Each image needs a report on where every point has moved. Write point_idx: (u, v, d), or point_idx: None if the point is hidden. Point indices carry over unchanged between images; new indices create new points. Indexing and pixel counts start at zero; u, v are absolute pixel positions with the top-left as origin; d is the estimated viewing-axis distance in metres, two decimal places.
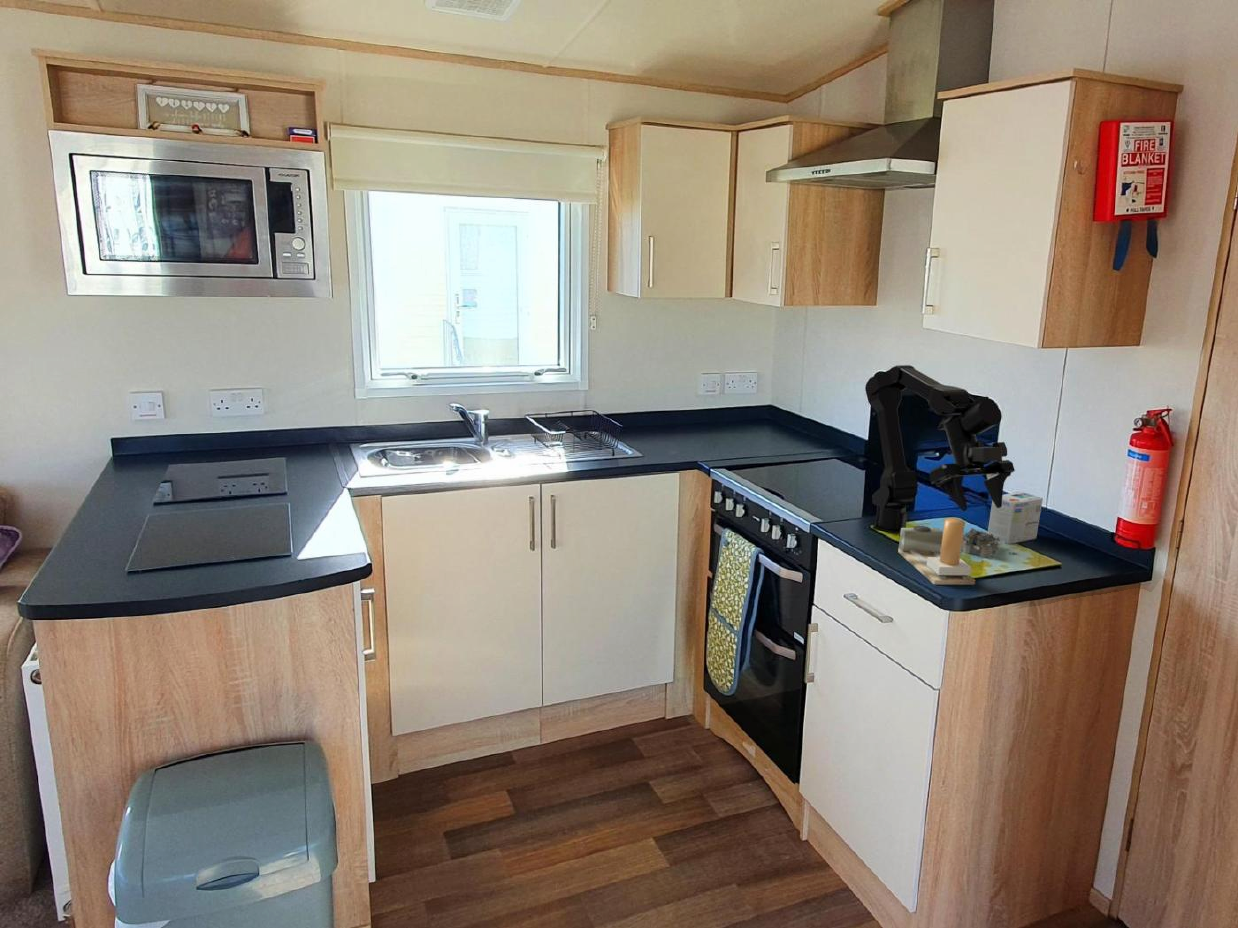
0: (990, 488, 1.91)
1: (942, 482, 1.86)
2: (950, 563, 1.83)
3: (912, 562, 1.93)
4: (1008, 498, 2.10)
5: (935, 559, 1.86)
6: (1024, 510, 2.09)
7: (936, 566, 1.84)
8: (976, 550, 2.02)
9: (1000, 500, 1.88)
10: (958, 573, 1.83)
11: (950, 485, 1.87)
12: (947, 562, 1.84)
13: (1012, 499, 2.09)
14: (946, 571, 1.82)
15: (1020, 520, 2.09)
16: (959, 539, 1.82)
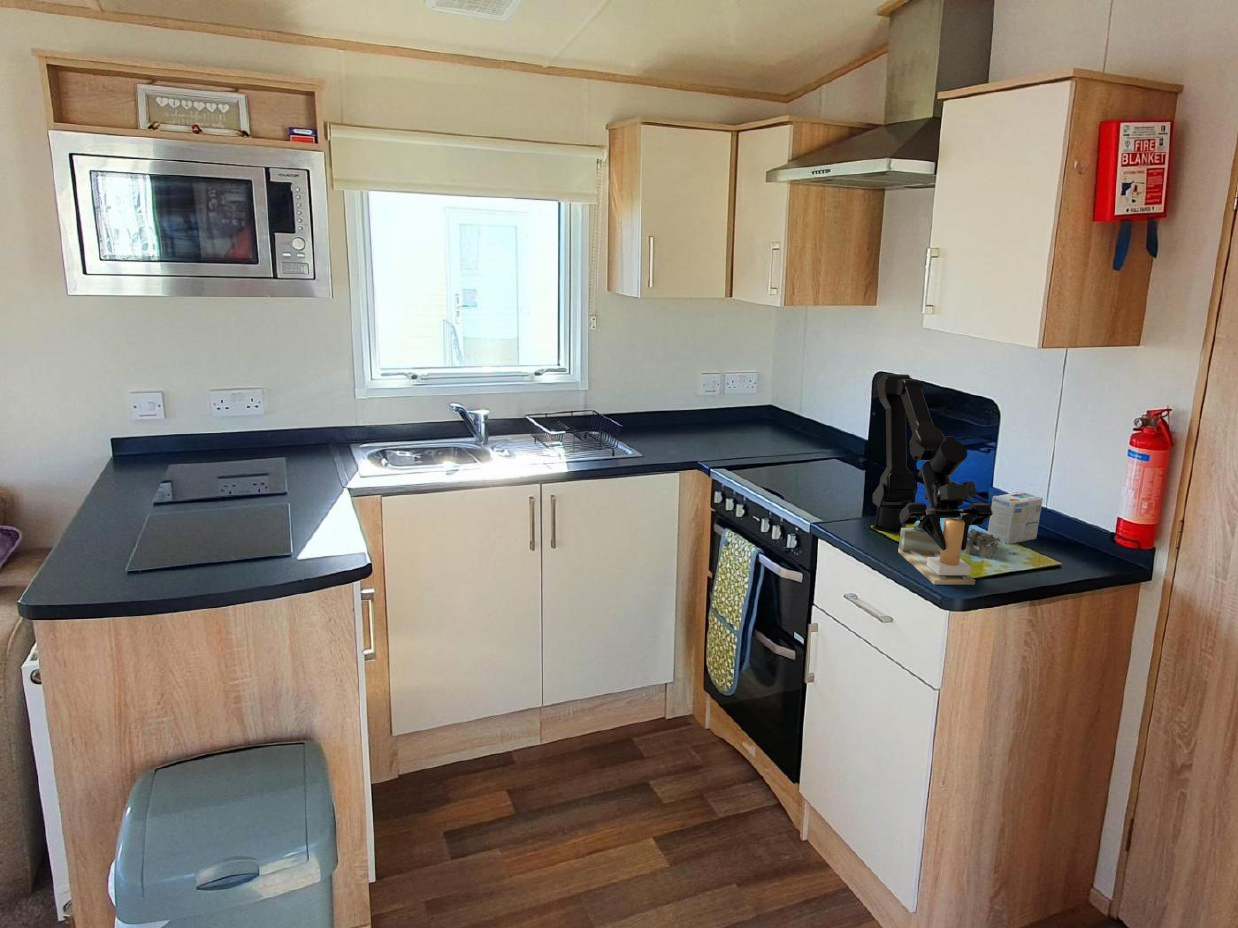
0: None
1: (921, 522, 1.86)
2: (950, 563, 1.83)
3: (912, 562, 1.93)
4: (1008, 498, 2.10)
5: (935, 559, 1.86)
6: (1024, 510, 2.09)
7: (936, 566, 1.84)
8: (976, 551, 2.01)
9: (964, 542, 1.83)
10: (958, 573, 1.83)
11: (930, 525, 1.87)
12: (947, 562, 1.84)
13: (1012, 499, 2.09)
14: (946, 571, 1.82)
15: (1020, 520, 2.09)
16: (959, 539, 1.82)
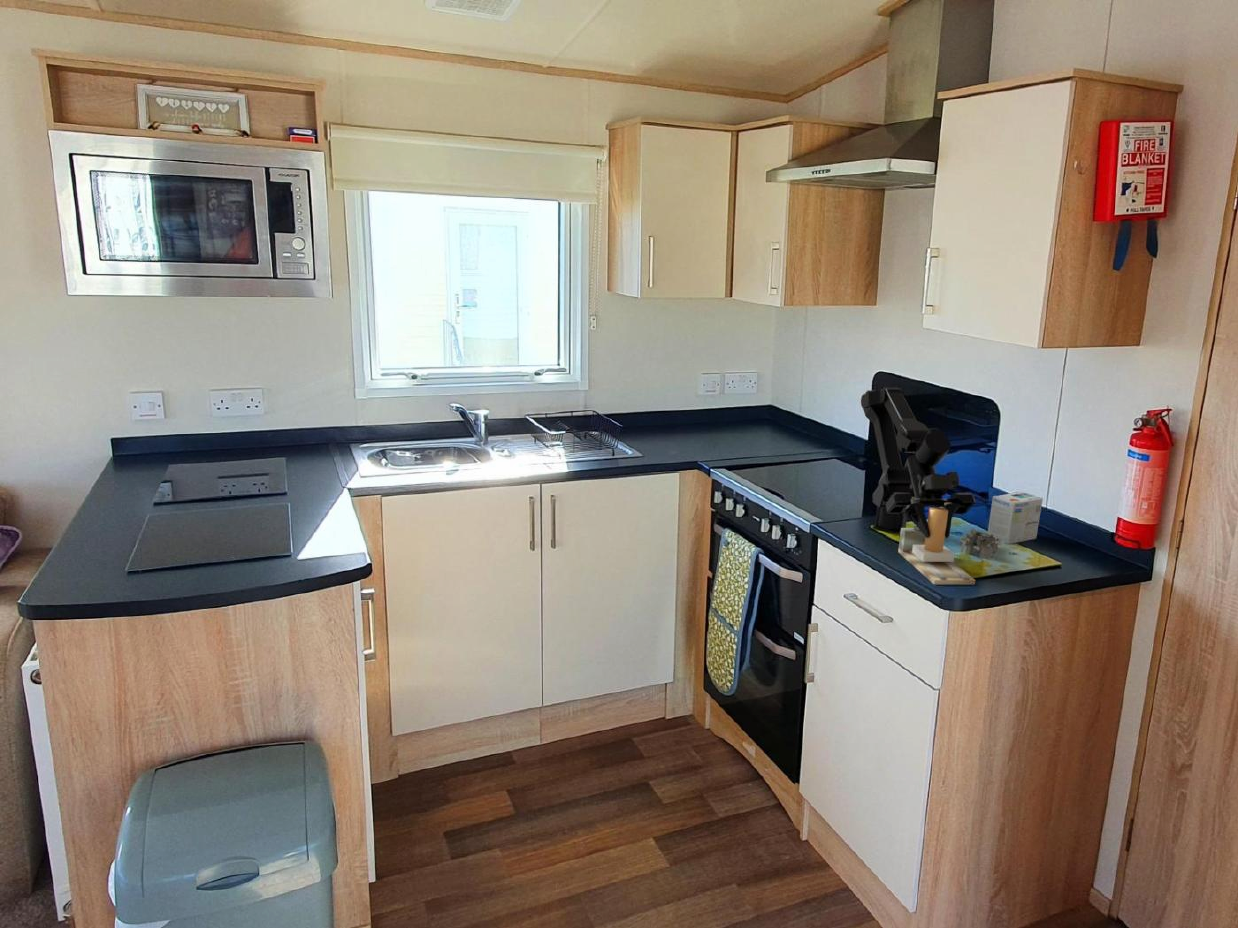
0: None
1: (906, 510, 1.94)
2: (934, 550, 1.91)
3: (912, 562, 1.93)
4: (1008, 498, 2.10)
5: (920, 547, 1.94)
6: (1024, 510, 2.09)
7: (921, 553, 1.91)
8: (976, 551, 2.01)
9: (948, 530, 1.91)
10: (942, 560, 1.90)
11: (916, 514, 1.94)
12: (931, 549, 1.91)
13: (1012, 499, 2.09)
14: (930, 557, 1.90)
15: (1020, 520, 2.09)
16: (942, 527, 1.90)
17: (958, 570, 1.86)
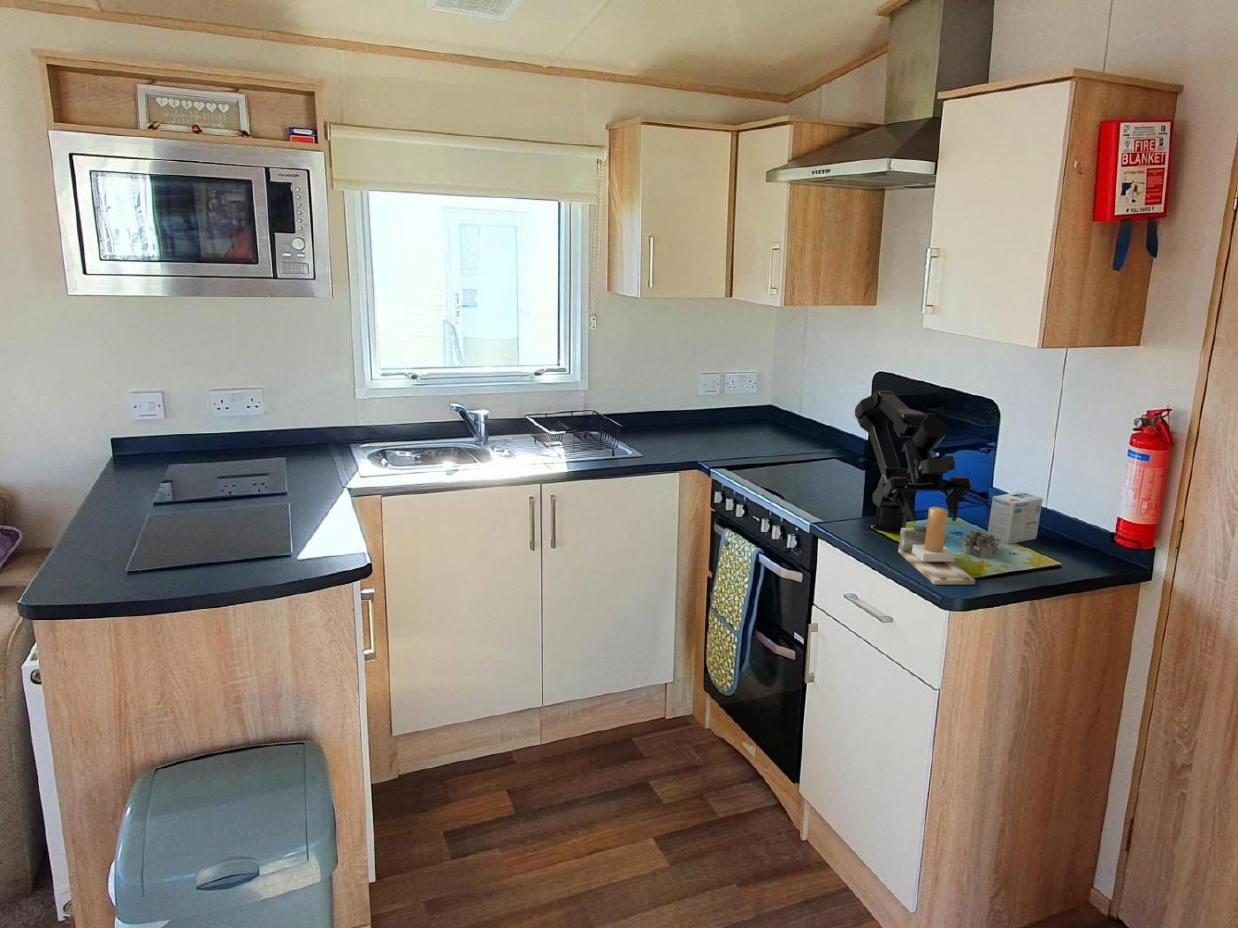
0: (948, 503, 1.97)
1: (893, 495, 1.96)
2: (934, 550, 1.91)
3: (912, 562, 1.93)
4: (1008, 498, 2.10)
5: (919, 547, 1.94)
6: (1024, 510, 2.09)
7: (920, 553, 1.91)
8: (976, 551, 2.01)
9: (955, 513, 1.93)
10: (942, 559, 1.90)
11: (902, 498, 1.96)
12: (931, 549, 1.91)
13: (1012, 499, 2.09)
14: (930, 557, 1.90)
15: (1020, 520, 2.09)
16: (942, 527, 1.90)
17: (958, 570, 1.86)
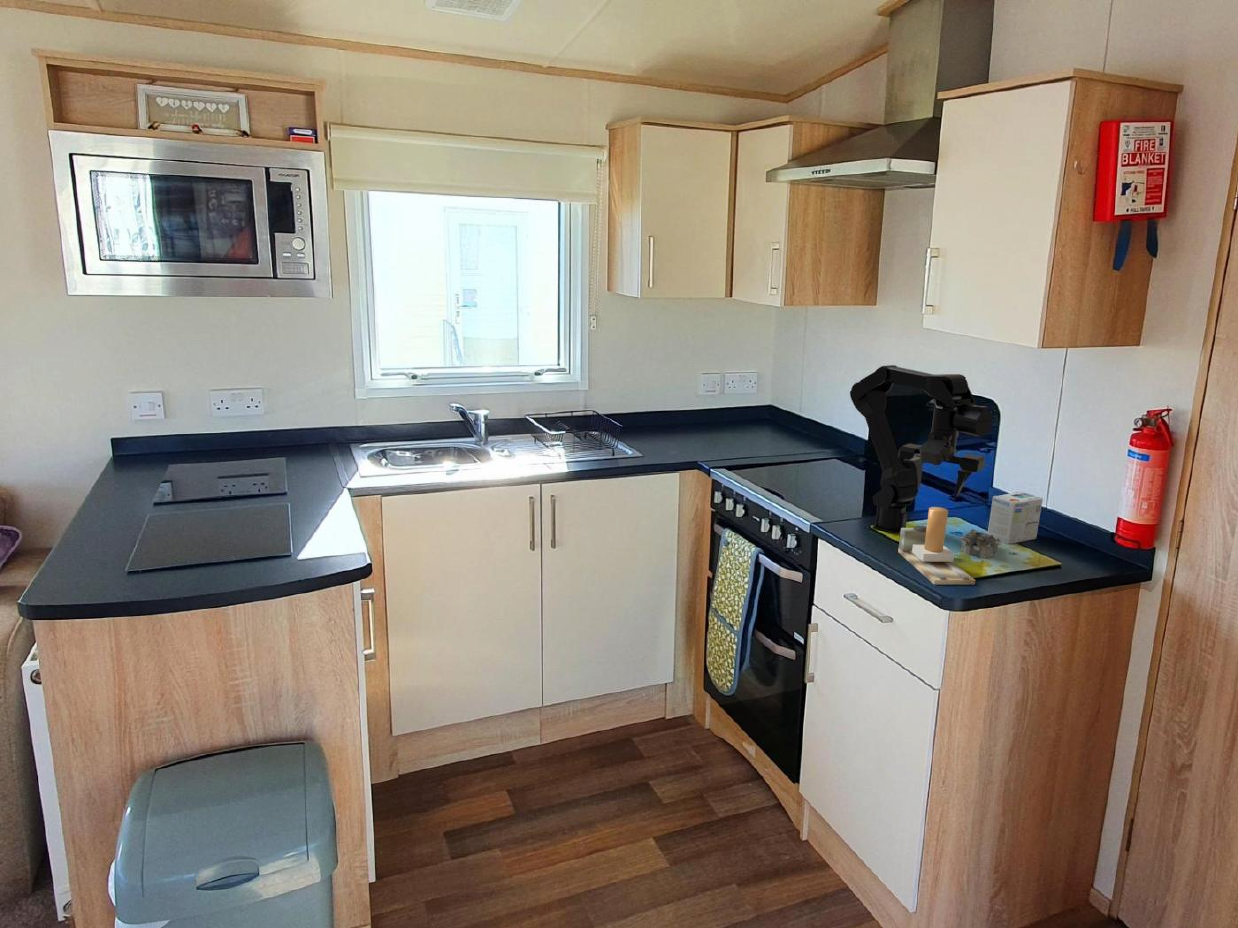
0: None
1: None
2: (934, 550, 1.91)
3: (912, 562, 1.93)
4: (1008, 498, 2.10)
5: (919, 547, 1.94)
6: (1024, 510, 2.09)
7: (920, 553, 1.91)
8: (976, 551, 2.01)
9: (955, 491, 2.00)
10: (942, 559, 1.90)
11: None
12: (931, 549, 1.91)
13: (1012, 499, 2.09)
14: (930, 557, 1.90)
15: (1020, 520, 2.09)
16: (942, 527, 1.90)
17: (958, 570, 1.86)
